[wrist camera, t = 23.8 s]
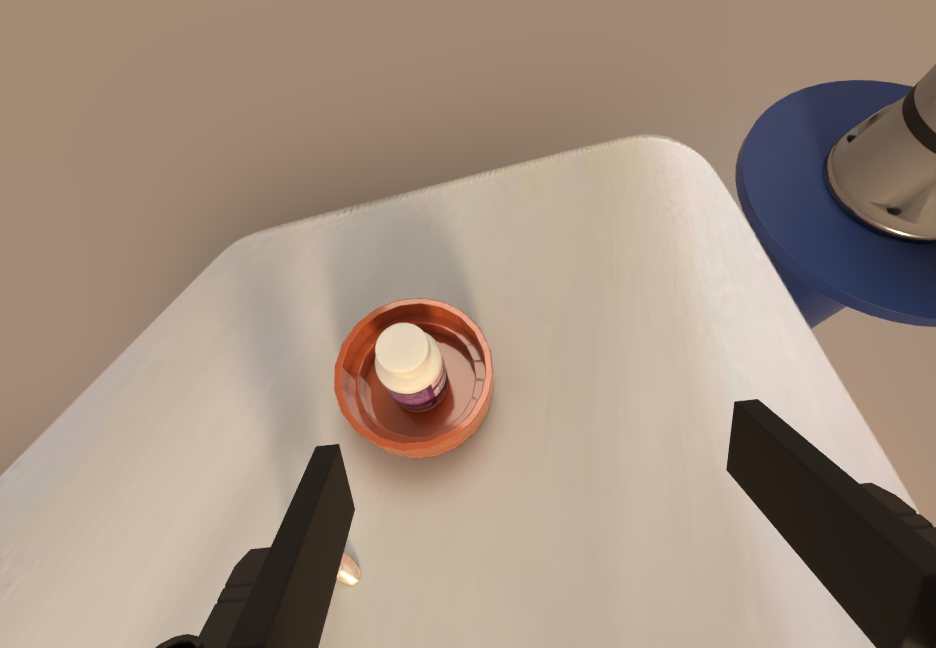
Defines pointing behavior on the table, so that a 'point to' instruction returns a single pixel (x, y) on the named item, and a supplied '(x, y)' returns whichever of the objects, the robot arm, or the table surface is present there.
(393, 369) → the pill bottle
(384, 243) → the table surface
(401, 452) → the bowl
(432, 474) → the table surface
